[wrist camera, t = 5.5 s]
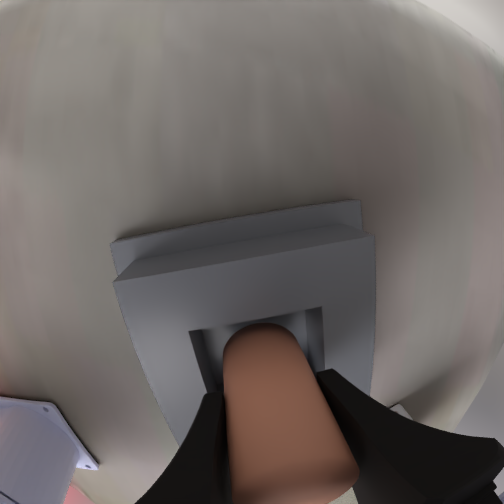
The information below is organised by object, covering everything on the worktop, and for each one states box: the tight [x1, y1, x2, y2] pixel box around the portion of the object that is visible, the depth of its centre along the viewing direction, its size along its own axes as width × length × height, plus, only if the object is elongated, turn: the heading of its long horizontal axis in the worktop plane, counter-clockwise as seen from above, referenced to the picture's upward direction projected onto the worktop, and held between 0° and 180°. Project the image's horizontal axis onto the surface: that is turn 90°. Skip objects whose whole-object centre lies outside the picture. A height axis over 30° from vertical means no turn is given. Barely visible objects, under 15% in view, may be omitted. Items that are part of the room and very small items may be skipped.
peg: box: [223, 323, 360, 504], centre depth 9 cm, size 3×3×7 cm
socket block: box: [110, 199, 376, 447], centre depth 13 cm, size 12×12×4 cm
